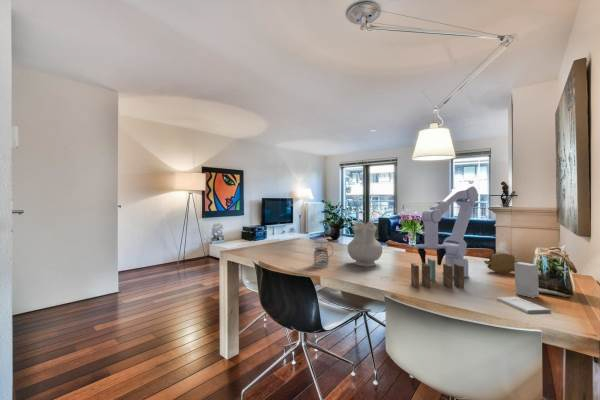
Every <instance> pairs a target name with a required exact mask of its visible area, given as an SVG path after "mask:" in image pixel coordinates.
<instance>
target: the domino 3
mask: <svg viewBox="0 0 600 400" xmlns="http://www.w3.org/2000/svg"><path fill="white" fill-rule="evenodd" d="M427 265H429V266H430V281H436V259H433V258H431V257H430V258H429V257H428V258H427Z"/></svg>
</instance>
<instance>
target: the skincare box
mask: <svg viewBox="0 0 600 400" xmlns="http://www.w3.org/2000/svg"><path fill="white" fill-rule="evenodd" d="M516 262H517V263H514V267H515V272H514V282H515V283H514V285H515V286H514V288H515V295H519V296H522V297H523V296H524V297H526V296H527V298H530V297H531V298H532V299H536V298H535V297H537V298H539V296H540V294H539V292H540V289H539V287H540V286H539V268H538V267H539V266H538V264H534V263H529V262H528V263H527V262H521V261H516Z"/></svg>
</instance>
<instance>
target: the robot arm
mask: <svg viewBox="0 0 600 400" xmlns="http://www.w3.org/2000/svg"><path fill="white" fill-rule="evenodd" d="M478 196H479V193H478V190H477V188H476V187H475V186H473V185H470V186H454V187H453V188H452V189H451V190H450V193H449V194H448V195H447V196H446V197H445V198H444V199H442V200H437V201H436V203H434V205H432V206H430V207H429V209H425V210H424V211H423V212H422V214H421V216H420V217H421V219H422V222H423V223H422V224H423V225H424V226H423V227H424V243H421V244H419V243H418V244H414V249H415V250H417V252H418V254H419V257H420V260H421V264H422V263H426V262H427V261H426V255H427V251H426V250H436V256H437V257H436V260H437V262H436V263H437V265H438V266H441V265H442V262H443V259H444V264H449V265H451V266H452V271H453V278H454V264H460V265H462V266H464V278H470V276H469V260H468V258H467V257H465V256H466V253H467V246H468V243H467V242H466V241H465V240H464V237H465V235H466V231H467V227H468V226H469V225H468V224H469V223H470V219H471V216H472V213H473V210H474V206H475V205H476V202H477V199H478ZM455 202H456V205H458V206H459V210H458V213H457V216H456V220H455V222H454V225H453V228H452V231H451V233H450V234H451V235H450V236H447V237H445V239H444V241H443V243H442V244H439V222H441V220H442V217H443V215H444V214H445V213H446V212H448V211H449V209H450V206H452V204H454V203H455ZM426 264H427V263H426ZM441 273H442V274H443V271H441Z"/></svg>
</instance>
